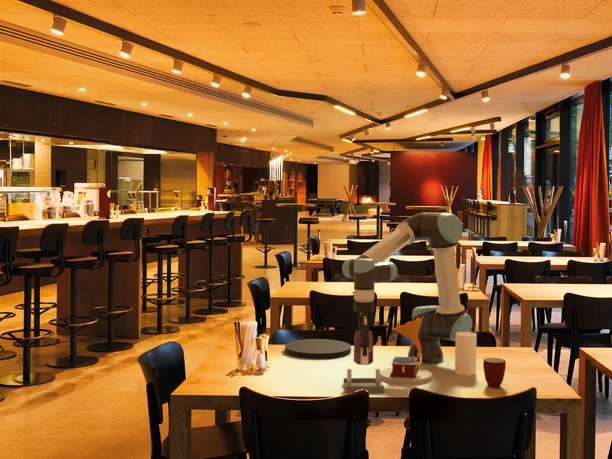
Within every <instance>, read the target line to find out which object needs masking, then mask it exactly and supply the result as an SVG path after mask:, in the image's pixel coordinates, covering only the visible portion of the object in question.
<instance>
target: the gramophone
mask: <svg viewBox="0 0 612 459" xmlns="http://www.w3.org/2000/svg"><path fill="white" fill-rule="evenodd" d="M423 317H424V316H423ZM423 317H422V318H421V319H420V318H417V319H416V320H415V321H413V322H412V321H407V322H406V323H405V324H403V325H398V326H396V327H393V328H391V330H392V331H394V332H396V333H398V334H400V335H401V336H403V337H406V338H407V339H409V340H411V343H412V342H413V343H414V344H415V346H416V347H417V349H418V355H417V357H414V356H413V357H408V356H394V358H393V359H392V362H391V364H390V365H392V367H388V368H387V367H386V368H384V369H382V370H381V369H380V378H381V381H383V382H385V383H389V382H390V384H395V385H408V386H409V385H421V384H427V383H430V382H432V380H433V373H432V372H431V371H430V370H427V369H424V368H420V367H418V366H420V365H421V364H423V363H422V354H421V346H420V342H419V339H418V333H419V330H420V326H421V322H422V319H423ZM420 355H421V356H420ZM418 357H420V358H419V360H420V362H416V361H417V358H418ZM417 365H418V366H417Z"/></svg>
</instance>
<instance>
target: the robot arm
mask: <svg viewBox="0 0 612 459" xmlns="http://www.w3.org/2000/svg"><path fill="white" fill-rule="evenodd" d="M462 235H463V225H462V222H461V220H460V219H459V217H457V215H455V214H453V213H447V212H426V211H425V212H420V213H416V214H413V215H412V216H410V217H408V218H406V219H405V220H403V221H401V222H399V224H397V225H396V227H395V230H394V231H392V232H390V233H389V234H388V235H386V236H385V237H384V238H382V239H381V240H379V241H378V242H377V243H376V244H374V245H372V247H370V248H369V249H367V250H366V251H365V252H363V253H362V254H360V255H359V256H358V257H356V258H355V259H354V258H348V259H346V260H345V261H344V262H343V264H342V267H341V271H342V274H343V276H344V277H345V278H348V279H352V280H353V291H352V292H351V293H352V295H353V300H354V301H353V311H354V312H356V313H358V315H357V320H358V330H361V345H360V346H359V347H361V365H360V366H368V347H369V331H370V329H369V328H370V320H371V319H370V315H368V314H369V313H372V312H374V311H375V302H374V301H375V284H378V283H379V284H380V283H381V284H382V283H389V282H392V281H394V280H395V279H396V278H397V276H398V267H397V266H396V264H395V263H393V262H392V261H387V260H388V259H389V258H391V257H392V256H393V255H394V254H396V253H398V252H399V251H400V250H401V249H402V248H404V247H405V246H406V245H411V244H413V243H415V242H417V241H426V242H428V247H429V249H431V250H432V251H433V260H434V267H435V278H436V285H437V296H438V304H439V305H422V306H417V307H415V308H413V309H412V314H411V322H413V321H415V320H416V319H417V318H420V319H421V318H422V317H423V316H424V317H423V319H422V322H421V326H420V330H419V333H418V339H419V342H420V346H421V354H422V363H421V364H423V363H424V364H435V363H440V362H442V361H444V353H443V350H442V347H441V343H440V339H441V340H448V341H452V342H455V341H456V333H457V332H472V328H473V320H472V317H471V315H470V314H467V313H466V310H465V306H464V305H463V304H461V297H460V290H459V289H460V286H459V278H458V268H457V261H456V260H457V258H456V251H455V250H456V247H457V246H458V245H459V244H458V243H459V241H460V240H461V239H462ZM407 352H408V354H407V357H413V356H414V357H417V355H418V349H417V347H416V346H415V344H414V343H413V342H412V341H411V344H410V347H409V350H408V351H407ZM420 356H421V355H420ZM419 358H420V357H418V358H417V361H416V362H420V360H419Z"/></svg>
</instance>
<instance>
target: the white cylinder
mask: <svg viewBox="0 0 612 459" xmlns="http://www.w3.org/2000/svg"><path fill="white" fill-rule="evenodd" d="M477 338H478V336H477V333H476V332H472V331H470V332H457V333H456V341H454V342H455V349H454V350H455V351H454V353H455V354H454V357H455V358H454V374H456V375H459V376H464V377H465V376H467V377H468V376H474V375H475V376H476V374H477Z"/></svg>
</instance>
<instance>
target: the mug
mask: <svg viewBox="0 0 612 459" xmlns="http://www.w3.org/2000/svg"><path fill="white" fill-rule="evenodd" d="M482 364H483V365H482V366H483V372H484V373H483V374H484V378H485V379H484V380H485V382H486V384H487V386H488V387H489V388H492V389H496V388H500V387H501V385H502V384H503V381H504V378H505V373H506V364H507V363H506V359H504V358H500V357H486V358H484V359H483V363H482Z"/></svg>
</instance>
